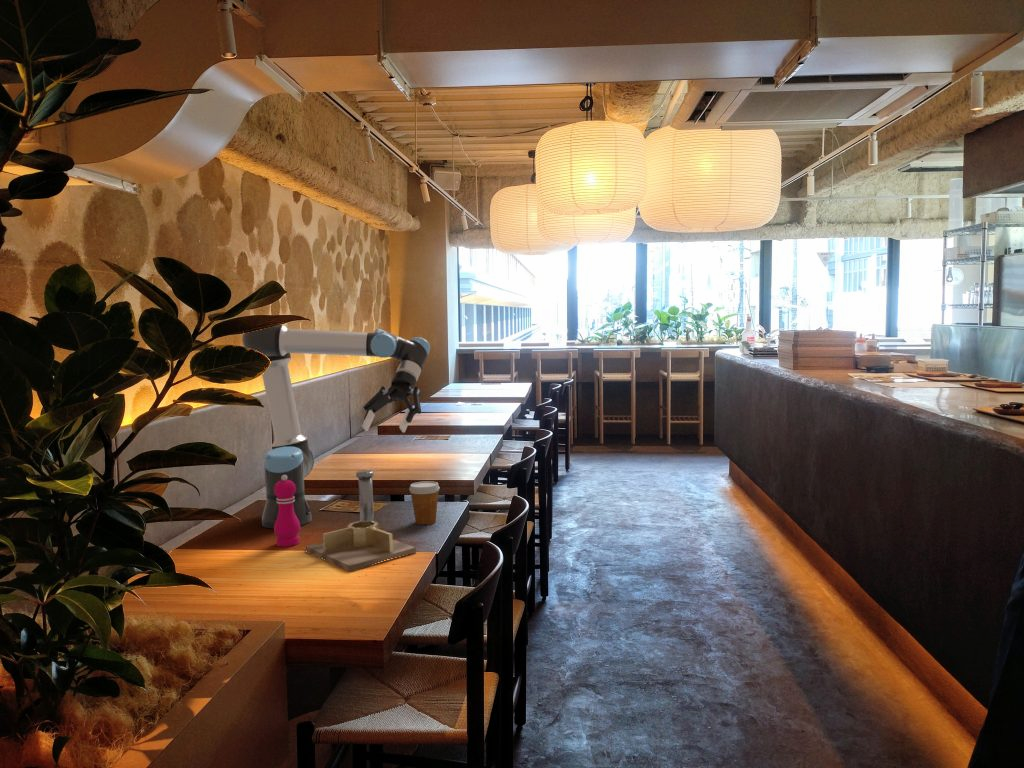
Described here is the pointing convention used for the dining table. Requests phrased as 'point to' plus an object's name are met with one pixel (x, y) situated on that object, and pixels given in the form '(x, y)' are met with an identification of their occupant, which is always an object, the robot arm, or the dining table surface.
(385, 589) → the dining table surface
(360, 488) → the pin
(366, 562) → the mounting board
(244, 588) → the dining table surface
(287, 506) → the pepper mill
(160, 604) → the dining table surface
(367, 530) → the beige ribbed socket
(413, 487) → the disposable coffee cup
